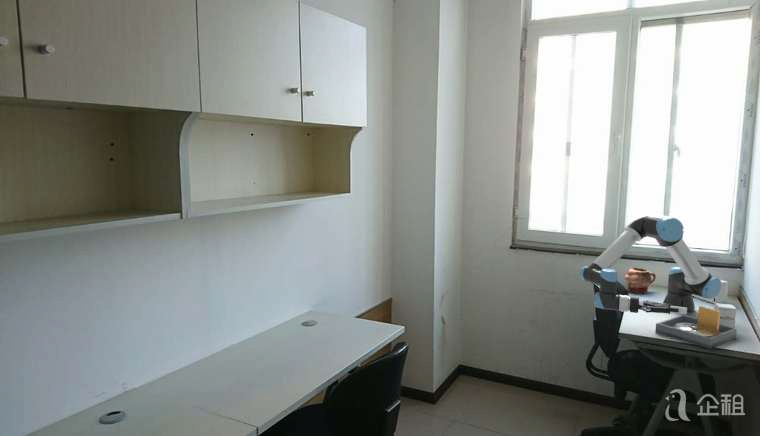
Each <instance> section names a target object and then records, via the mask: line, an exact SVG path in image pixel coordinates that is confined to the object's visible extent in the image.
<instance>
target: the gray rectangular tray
mask: <svg viewBox="0 0 760 436" xmlns="http://www.w3.org/2000/svg"><path fill="white" fill-rule="evenodd" d="M697 322H698V317H693V316H688V315H686V314H681V315H677V316H675V317H671V318H668V319H665V320H662V321H659V322H656V323H655V332H654V333H656V334H659V335H663V336H665V337H670V338H672V339H675V340H680V341H683V342H687V343H689V344H693V345H696V346H699V347H703V348H705V349H713V348H716V347H718V346H721V345H723V344H726V343H729V342H730V341H733V340H735V339H736V338H737V331H738V330H737V328H735V327H734V328H731V327H727V326H723V325H720V324H719V332H718V335H716V336H713V337H710V338H708V337H705V336H701V335H698V334H694V333H691V332H687V331H684V330H680V329H677V328H674V327H675V324H677V323H695V324H697Z"/></svg>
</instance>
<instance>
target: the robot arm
mask: <svg viewBox="0 0 760 436" xmlns="http://www.w3.org/2000/svg"><path fill="white" fill-rule="evenodd" d="M623 230H624V231H623V232H622V233H621V234H620V235H619V236H618V237H617V238H616V239H615V240H614V241H613V242H612V243H611V244H610V245H609V246H608V247H607V248H606V249H605V250H604V251H602V253H601V254H600V255H599V256H598V257H597V258H596V259H595V260H594V261H593V262H592V263H591V264H590V265H585V266H582V267H581V268H580V270H579V272H578V275H579V278H580V279H581V280H582V281H583V282H586V283H589V284H592V285H595V286H598V287H599V292H595V294H594V307H596V309H598V308H599V309H602V310H612V311H620V312H621V313H624V312H629V313H635V314H638V313H639V310H640V311H644V312H645V313H647V314H648V313H657V314H668V315H670V314H671V313H672V314H673V313H674V314H681V315H687V314H688V313H694V312H696V306H695V302H694V298H693V296H692V294H694V295H697V296H700V297H703V298H707V299H712V298H715V297H716V296H717V295H718V294H719V292H720V290H721V281H720V280H721V279H720V278H719V277H718V276H717V277H716V276H713V275H712V274H711V273H710V272H709V271H710V270H708V269H707V268H705V267H702V265H701V264H700V263H699V261H698V260H697V258H696V257H695V255H694V254H693V253H692V251H691V249H690V248H689V246H688V245H687V244H686V242H685V241H684V238H683V236H684V225H683V223H682V221H681V220H679V219H677V218H676V217H672V216H668V215H667V216H666V215H660V214H659V215H658V214H653V213H647V214H643V215H640V216H638V217H637V218H635V219H634V220H632V221H631V222H629V224H627V225H626V227H625V228H624V229H623ZM647 237H648V238H653V239H655V240H656V242H657V243H658V245H659V246H661V247H663V248H665V249H666V250H667V251H668V253H669V255H670V256H671V257H672V259H673V261H674V262H675V263H676V265H677V266H672V267H670V268H669V272H668V279H667V280H668V281H667V294H666V295H665V298H664V300H663V302H656V301H652V300H648V299H647V300H643V301H640V297H638V296H629V295H622V294H617V289H618V288H617V287H618V272H617V270H616V269H613V268H611V267H613V265H614V264H615V263H616V262H617V261H618V260H620V259H621V258H622V257H623V255H624V254H626V252H627V251H628V250H630V248H631V247H633V246H634V245H635V243H637V242H641V241H642V240H643V239H644V238H647Z"/></svg>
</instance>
